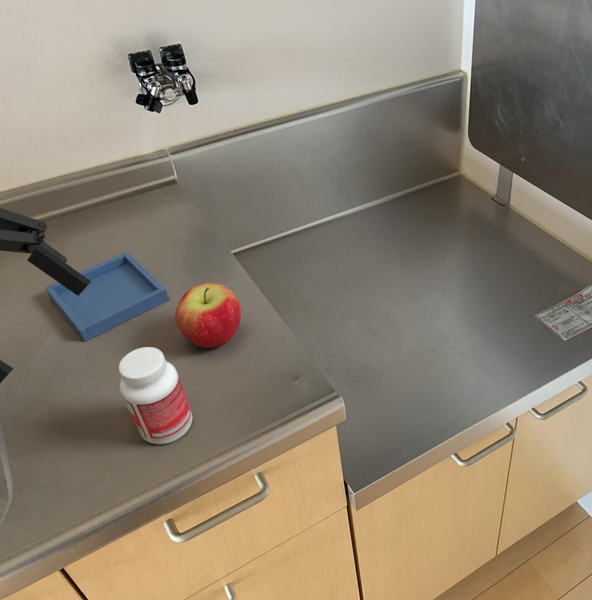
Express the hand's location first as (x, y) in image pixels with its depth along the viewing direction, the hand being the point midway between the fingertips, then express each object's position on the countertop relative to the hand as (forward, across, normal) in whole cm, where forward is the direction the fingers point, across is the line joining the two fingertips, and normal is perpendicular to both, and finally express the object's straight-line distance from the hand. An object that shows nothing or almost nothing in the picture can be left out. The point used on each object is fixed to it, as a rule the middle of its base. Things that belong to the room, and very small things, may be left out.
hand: (49, 329), depth 66 cm
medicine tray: (+3, -20, -16) cm, 26 cm away
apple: (+17, -15, -3) cm, 23 cm away
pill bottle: (+17, 0, -3) cm, 17 cm away
